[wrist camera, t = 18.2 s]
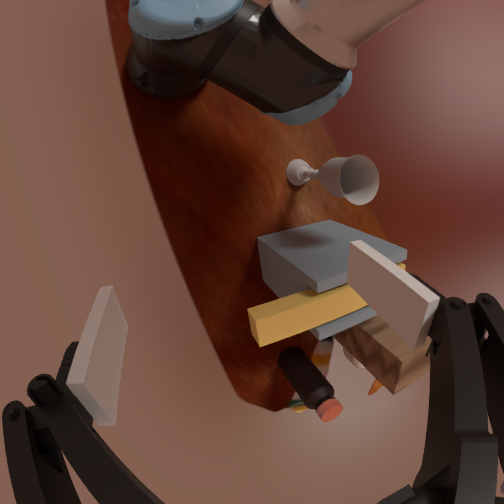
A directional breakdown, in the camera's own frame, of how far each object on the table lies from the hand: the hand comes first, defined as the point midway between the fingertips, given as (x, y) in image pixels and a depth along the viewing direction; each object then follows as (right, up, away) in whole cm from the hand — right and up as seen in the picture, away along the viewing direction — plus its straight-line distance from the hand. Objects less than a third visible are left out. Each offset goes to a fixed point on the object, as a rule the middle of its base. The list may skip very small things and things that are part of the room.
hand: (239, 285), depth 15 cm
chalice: (+9, +17, +36) cm, 41 cm away
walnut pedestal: (+21, -8, +48) cm, 53 cm away
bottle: (+10, -24, +50) cm, 56 cm away
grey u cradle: (+10, +2, +41) cm, 42 cm away
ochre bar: (+12, -4, +23) cm, 26 cm away
